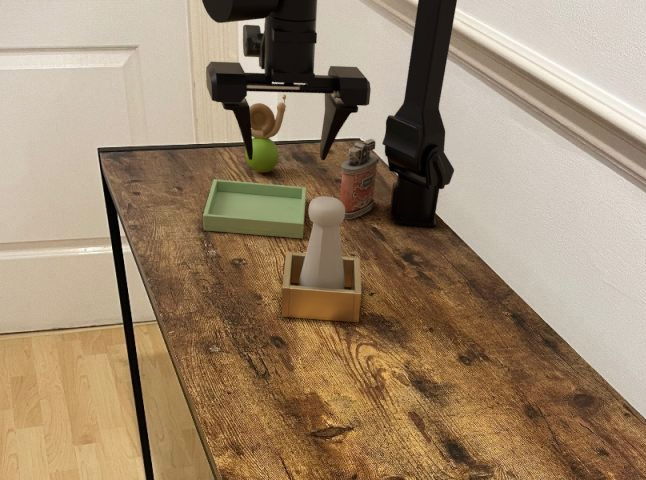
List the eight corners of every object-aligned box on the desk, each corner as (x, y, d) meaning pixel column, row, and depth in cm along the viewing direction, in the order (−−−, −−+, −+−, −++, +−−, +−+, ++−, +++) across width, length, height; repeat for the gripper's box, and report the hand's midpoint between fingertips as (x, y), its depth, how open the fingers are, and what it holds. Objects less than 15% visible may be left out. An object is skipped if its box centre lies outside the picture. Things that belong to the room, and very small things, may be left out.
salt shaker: (323, 317, 97) (330, 215, 88) (289, 300, 100) (292, 199, 91) (352, 301, 101) (361, 202, 92) (318, 284, 103) (324, 186, 94)
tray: (305, 201, 122) (306, 187, 120) (302, 238, 113) (303, 223, 111) (214, 193, 121) (213, 178, 119) (203, 230, 111) (202, 215, 110)
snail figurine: (282, 180, 127) (284, 100, 119) (243, 175, 127) (242, 96, 118) (285, 167, 131) (287, 90, 123) (247, 163, 131) (246, 85, 122)
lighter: (351, 221, 118) (357, 153, 111) (332, 214, 120) (337, 146, 113) (378, 205, 124) (385, 139, 117) (360, 199, 125) (366, 133, 118)
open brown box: (357, 285, 104) (360, 257, 101) (358, 322, 97) (361, 293, 95) (285, 279, 103) (286, 251, 101) (281, 317, 96) (282, 287, 94)
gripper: (353, 2, 95) (342, 136, 105) (197, -8, 90) (203, 134, 101) (378, 26, 87) (364, 168, 98) (209, 17, 82) (214, 168, 93)
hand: (286, 158), depth 98 cm, fingers open, 9 cm apart
